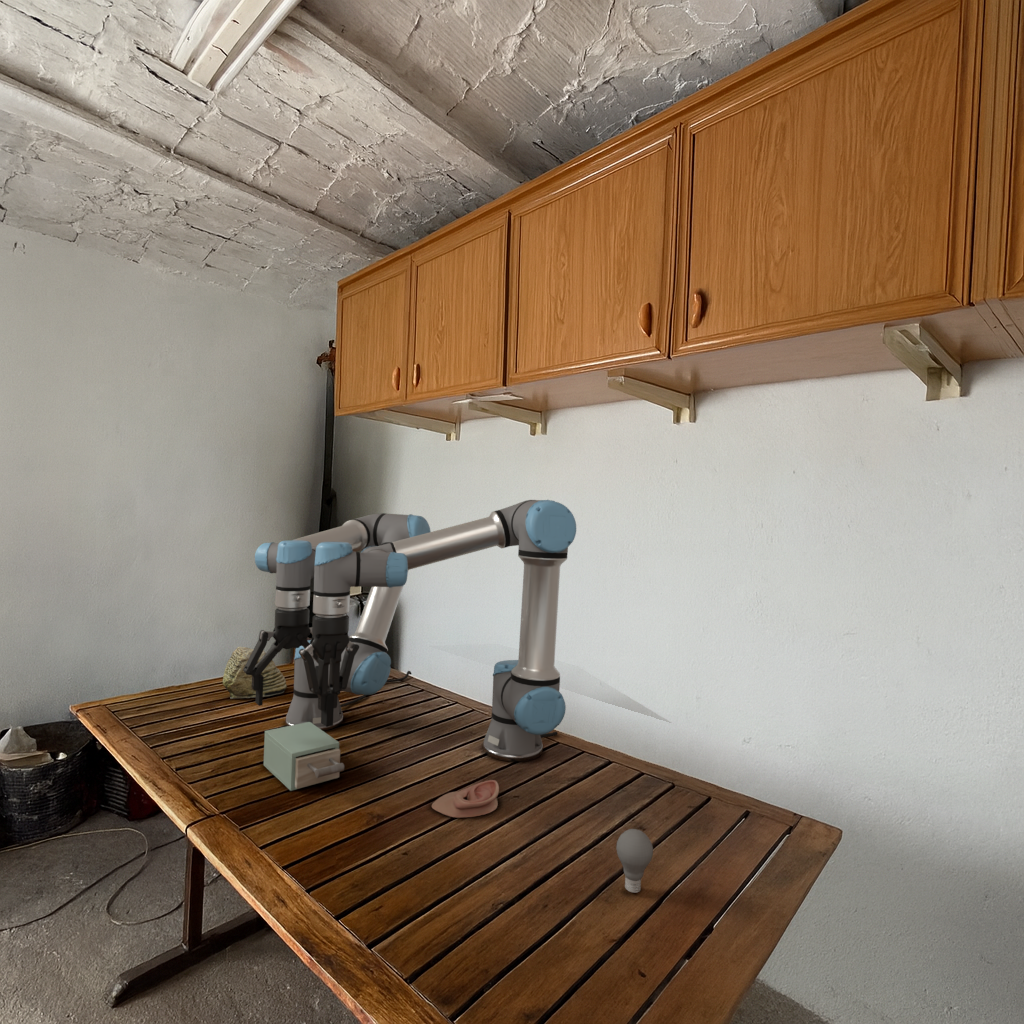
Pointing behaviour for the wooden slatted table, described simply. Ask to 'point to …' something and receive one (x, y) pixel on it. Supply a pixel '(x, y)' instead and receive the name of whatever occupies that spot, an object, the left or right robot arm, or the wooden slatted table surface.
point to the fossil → (242, 683)
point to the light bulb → (634, 857)
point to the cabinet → (293, 749)
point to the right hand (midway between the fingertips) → (326, 724)
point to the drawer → (317, 767)
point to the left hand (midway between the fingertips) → (289, 699)
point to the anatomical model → (469, 800)
